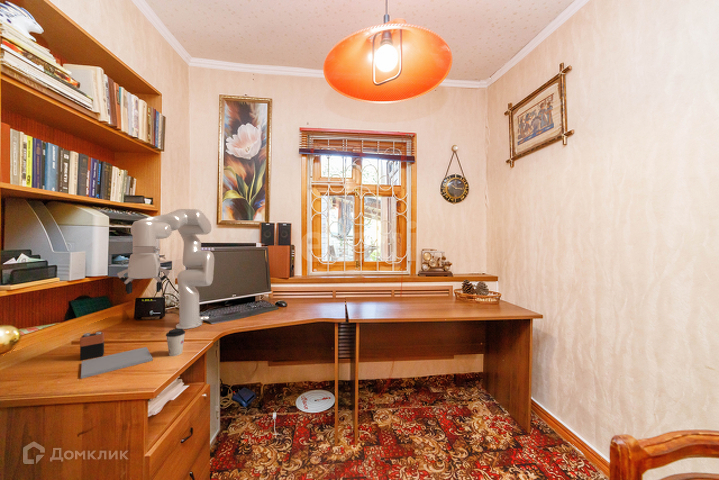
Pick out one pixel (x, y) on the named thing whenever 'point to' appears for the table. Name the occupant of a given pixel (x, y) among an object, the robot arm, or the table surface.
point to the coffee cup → (175, 341)
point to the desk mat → (115, 362)
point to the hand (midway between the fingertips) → (144, 292)
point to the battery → (91, 345)
